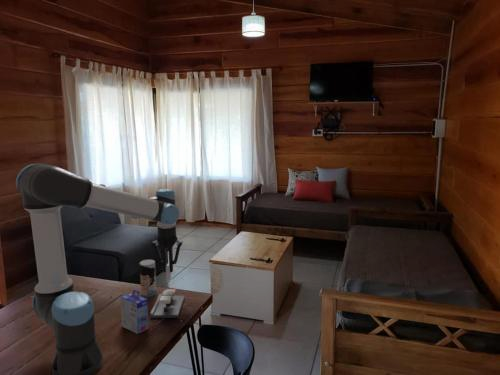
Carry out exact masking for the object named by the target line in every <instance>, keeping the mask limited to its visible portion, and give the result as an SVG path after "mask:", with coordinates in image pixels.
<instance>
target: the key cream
mask: <svg viewBox="0 0 500 375" xmlns="http://www.w3.org/2000/svg"><path fill="white" fill-rule="evenodd" d="M170 301H171V296H161V298H160V300H159V304H169V303H170Z"/></svg>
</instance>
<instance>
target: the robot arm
mask: <svg viewBox="0 0 500 375" xmlns="http://www.w3.org/2000/svg"><path fill="white" fill-rule="evenodd" d="M15 186H16V188H17V191H18V193H19V194H20V195H21V196H22V202H23V203H22V205H23V209H24V210H25V211H27V212H28V213H29V215H30V222H31V230H32V240H33V246H34V253H35V254H34V255H35V263H36V270H37V278H38V283H37V284H36V285H35V287H34V294H33V297H32V300H31V306H32V310H33V311H34V314H35V315H36V316H37V317H38V318H39V319H40V320H41V321H43V322H44V323H45V324H46V325H47V326H49V328H51V329H52V330H53V333H54V340H55V341H54V342H55V343H54V344H55V352H54V355H53V356H54V357H53V359H52V362H51V363H52V364H51V374H52V375H94V374H96V373H97V372H98V371H99V370H100V369H101V368H102V367H103V364H104V355H103V351H102V349H101V347H100V345H99V344H98V341H97V338H96V323H95V306H94V302H93V299H92V297H91V296H90V294H87V293H85V292H82V291H80V292H78V291H75V287H74V281H73V279H72V278H70V277H68V270H67V269H68V268H67V261H66V252H65V244H64V242H65V240H64V235H63V234H64V233H63V226H62V225H63V224H62V216H61V209H62V208H63V207H69V208H76V209H83V208H85V207H87V208H92V209H98V210H101V211H106V212H111V213H115V214H120V215H124V216H130V217H131V218H133V219H135V220H137V219H144V220H149V221H153V222H157V225H156V226H157V238H156V240H153V241H152V243H151V246H152V247H153V248H154V252H155V256H156V259H157V262H158V265H162V266H163V273H165V278H166V280H165V281H168V282H169V281H171V278H172V273H173V271H174V265H176V264H177V263H178V259H179V254H180V251H181V247H182V245H183V243H184V241H183V240H180V239H178V236H177V226H176V224H177V222H178V220H179V217H180V210H179V208H178V206H177V205H176V195H175V190H174V189H172V188H171V189H170V188H160V189H157V190H156V192H155V195H153V196H148V197H147V196H143V195H138V194H134V193H131V192H126V191H124V190H120V189H116V188H113V187H109V186H105V185H101V184H97V183H94V182H92V180H91V179H90V178H88V177H84V176H82V175H81V176H80V175H79V174H76V173H73V172H71V171H69V170H67V169H65V168H62V167H58V166H54V165H49V164H47V163H33V164H29V165H26V166H25V167H23V168H22V169H21V170H20V171H19V172H18V174H17V176H16V180H15ZM175 244H176V246H177V247H176V248H175V254H174V253H173V252H174V250H173V248H174V246H175ZM159 245H160V246H161V248H162V253H161V250H160V247H159ZM167 250H168V251H167ZM167 252H168V254H167Z"/></svg>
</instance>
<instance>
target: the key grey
mask: <svg viewBox="0 0 500 375" xmlns="http://www.w3.org/2000/svg"><path fill="white" fill-rule="evenodd" d="M161 294H162V296H171V298H172V296H173V290H163V291H162V293H161Z"/></svg>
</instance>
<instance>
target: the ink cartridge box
mask: <svg viewBox="0 0 500 375" xmlns="http://www.w3.org/2000/svg"><path fill="white" fill-rule="evenodd" d="M140 292H141V291H138V290H136V289H133V291H132V292H130V293H128V294H125V295H123V296H121V297H120V307H121V308H120V309H121V310H120V311H121V327H122V328H123V329H124V328H125V329H127V330H129V331H131V332H132V333H135V334H137V335H139V334H141V333H143V332H145V331H147V330H148V329H149V308H148V305H149V304H148V301H149V300H148V298H146V297H144V296H142V295H141V296H140ZM135 293H136V294H135Z"/></svg>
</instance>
